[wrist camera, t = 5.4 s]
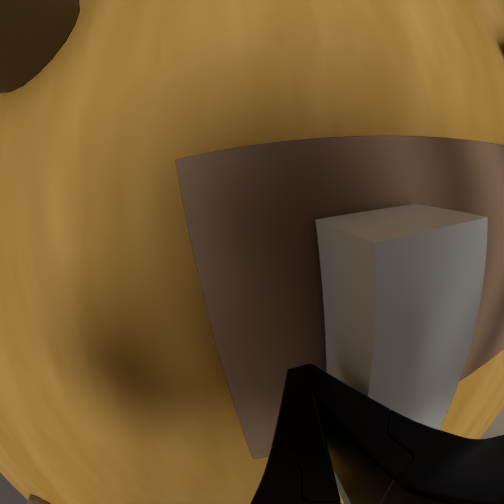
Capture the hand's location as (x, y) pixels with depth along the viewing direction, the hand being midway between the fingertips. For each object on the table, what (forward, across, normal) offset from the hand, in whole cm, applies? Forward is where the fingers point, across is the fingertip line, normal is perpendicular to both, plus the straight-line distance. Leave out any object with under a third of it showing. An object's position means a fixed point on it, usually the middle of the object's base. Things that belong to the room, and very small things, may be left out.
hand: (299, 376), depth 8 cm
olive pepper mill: (+3, +9, -16) cm, 19 cm away
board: (+3, -8, 0) cm, 8 cm away
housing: (+1, -3, 0) cm, 4 cm away
